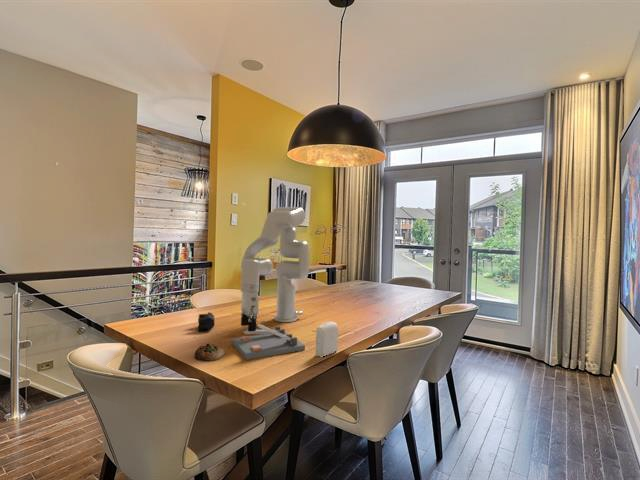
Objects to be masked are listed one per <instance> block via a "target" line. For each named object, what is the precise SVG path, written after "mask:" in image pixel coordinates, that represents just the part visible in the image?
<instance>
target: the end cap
mask: <svg viewBox="0 0 640 480" xmlns="http://www.w3.org/2000/svg"><path fill="white" fill-rule="evenodd" d="M197 321H198V322H197V323H198V327H197V332H198V333H205V332H207V331H208V332H209V331H211V330H212V329H214V327H215V315H214V314H213V313H212V312H207V313H201V314H198V320H197Z"/></svg>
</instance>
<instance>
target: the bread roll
mask: <svg viewBox="0 0 640 480" xmlns="http://www.w3.org/2000/svg"><path fill="white" fill-rule="evenodd" d="M224 355H225V350H224V349H223V348H222V347H221V346H218V345H215V344H213V343H212V344H211V343H207V344H205V345H200V346H199V347H198V348H197V349H196V351H195V352H194V358H195V359H196V360H197V361H198V360H199V361H202V362H203V361H205V362H206V361H210V362H212V361H218V360H221V359H222V358H223V356H224Z"/></svg>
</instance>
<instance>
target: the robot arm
mask: <svg viewBox="0 0 640 480" xmlns="http://www.w3.org/2000/svg"><path fill="white" fill-rule="evenodd" d="M305 220H306V212H305V210H304V209H303V208H302V207H299V206H298V207H297V206H293V207H291V206H281V207H280V206H278V207H275V208H274V209H273V210H272V211H270V212H268V214H267V216H266V218H265V221H264V224H263V227H262V230H261V233H260V236H259V237H258V238H256V239H255V240H253V242H251V243H250V244H249V245H248V246H247V248H246V249H245V251H244V254H243V257H242V259H241V263H240V264H241V265H240V269H241V279H240V280H241V282H240V283H241V284H240V292H241V305H240V306H241V307H240V311H241V315H240V316H241V318H240V326H241V327H244V326H245V327H246V326H247V327H248V328H247V330H248V331H256V330H257V318H258V316H259V310H260V309H259V308H260V307H259V303H260V301H259V298H260V297H259V291H260V276H268V275H270V274H271V273H272V272H273V270H274V264H273V262H272V260H270V259H269V258H264V257H263V258H262V257H261V258H260V257H256V255H257V254H258V253H260V252H261V251H263V250H266V249H268V248H271V247H274V246H275V245H277V243H278V242H279V255H280V256H281V257H283V258H285V259H287V258H288V259H298V261H297V260H284V259H283V260H280V261H278V262H277V263H276V267H275V272H276V280H277V289H276V291H277V292H276V293H277V294H276V295H277V296H276V315H273V320H274V321H275V322H280V323H292V322H296V321H297V320H298V316H302V315H304V312H303V310H301V311H299V310H296V308H295V307H296V285H295V283H294V281H293V280H301V281H302V280H306V279H307V278H308V276H309V271H310V245H309V243H308V242H307V241H304V240H297V229H296V228H297V227H298V226H301V225H302V224H303V223H304V222H305Z"/></svg>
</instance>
